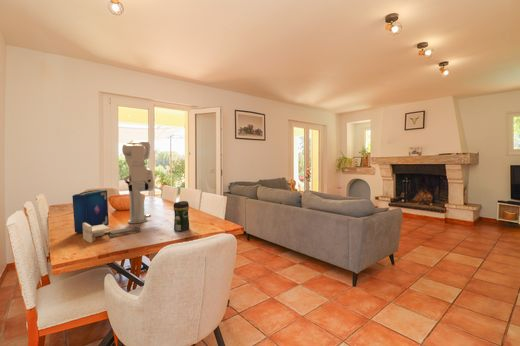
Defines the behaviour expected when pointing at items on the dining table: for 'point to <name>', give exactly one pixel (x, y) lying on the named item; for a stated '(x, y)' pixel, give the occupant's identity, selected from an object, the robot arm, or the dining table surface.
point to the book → (90, 209)
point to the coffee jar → (181, 216)
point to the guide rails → (122, 233)
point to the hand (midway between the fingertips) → (138, 190)
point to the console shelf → (93, 231)
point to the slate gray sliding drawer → (124, 230)
